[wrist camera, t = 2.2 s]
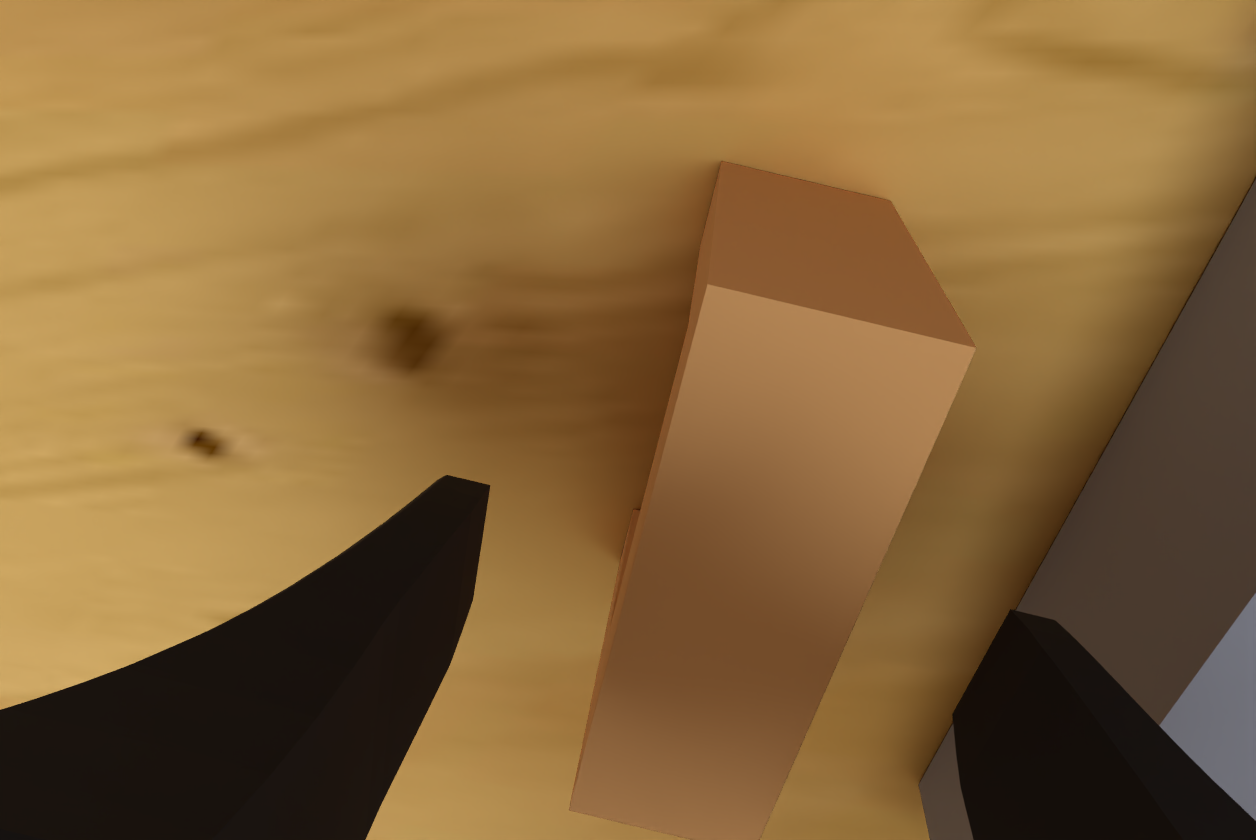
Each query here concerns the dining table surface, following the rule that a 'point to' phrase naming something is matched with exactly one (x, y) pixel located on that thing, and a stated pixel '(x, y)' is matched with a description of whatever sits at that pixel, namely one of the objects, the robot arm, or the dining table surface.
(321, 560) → the dining table surface
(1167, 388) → the grey rectangular frame
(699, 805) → the toy arch block
